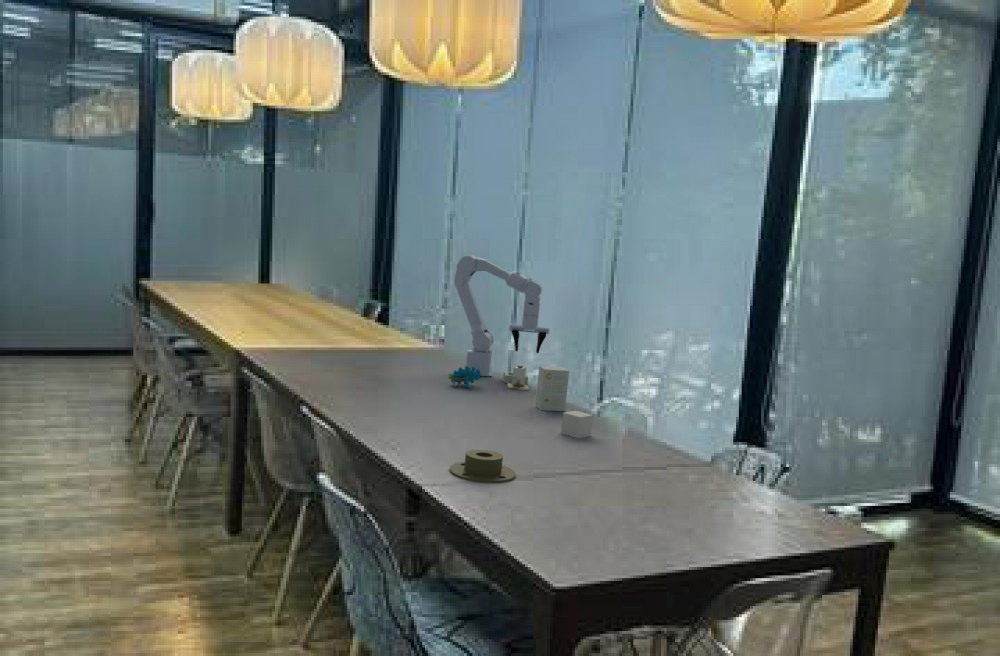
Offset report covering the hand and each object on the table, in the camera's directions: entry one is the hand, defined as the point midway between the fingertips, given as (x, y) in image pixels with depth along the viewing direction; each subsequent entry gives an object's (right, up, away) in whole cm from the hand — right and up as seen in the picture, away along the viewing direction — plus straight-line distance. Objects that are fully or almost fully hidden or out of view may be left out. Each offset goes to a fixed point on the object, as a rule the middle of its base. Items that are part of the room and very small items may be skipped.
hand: (526, 351), depth 330 cm
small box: (+6, -17, -46) cm, 49 cm away
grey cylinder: (-4, -11, -15) cm, 19 cm away
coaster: (-4, -12, -15) cm, 20 cm away
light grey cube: (+11, -21, -77) cm, 81 cm away
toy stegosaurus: (-22, -11, -23) cm, 34 cm away
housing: (-4, -11, -6) cm, 13 cm away
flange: (-14, -25, -124) cm, 128 cm away
